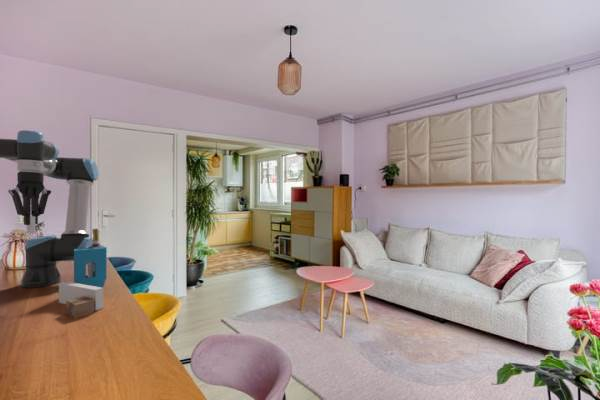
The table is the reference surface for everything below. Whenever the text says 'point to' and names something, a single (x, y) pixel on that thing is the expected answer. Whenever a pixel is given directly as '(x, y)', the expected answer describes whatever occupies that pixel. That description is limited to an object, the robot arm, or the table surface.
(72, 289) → the grey board
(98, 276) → the block
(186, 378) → the table surface
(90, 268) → the liquor
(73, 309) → the walnut block
